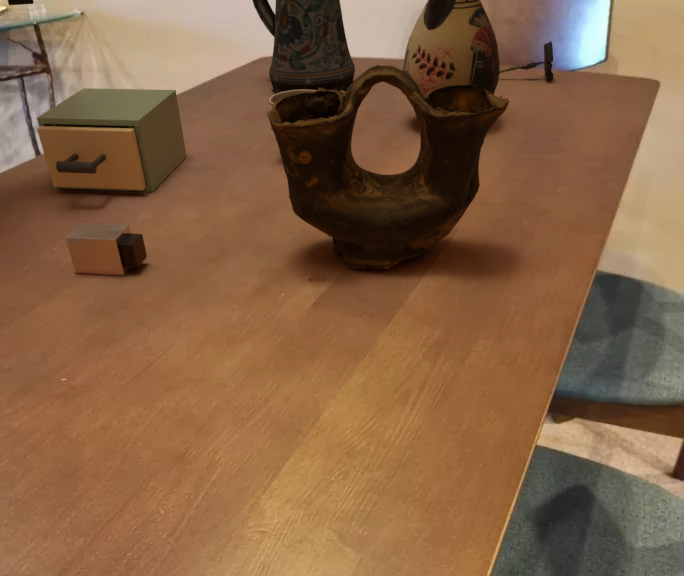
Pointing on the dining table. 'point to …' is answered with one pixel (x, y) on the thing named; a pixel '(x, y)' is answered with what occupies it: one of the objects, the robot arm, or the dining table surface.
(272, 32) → the beer stein
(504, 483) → the dining table surface
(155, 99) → the cabinet
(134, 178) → the drawer
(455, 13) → the ceramic jug
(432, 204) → the pottery vessel
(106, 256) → the black-capped tan block
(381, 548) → the dining table surface
